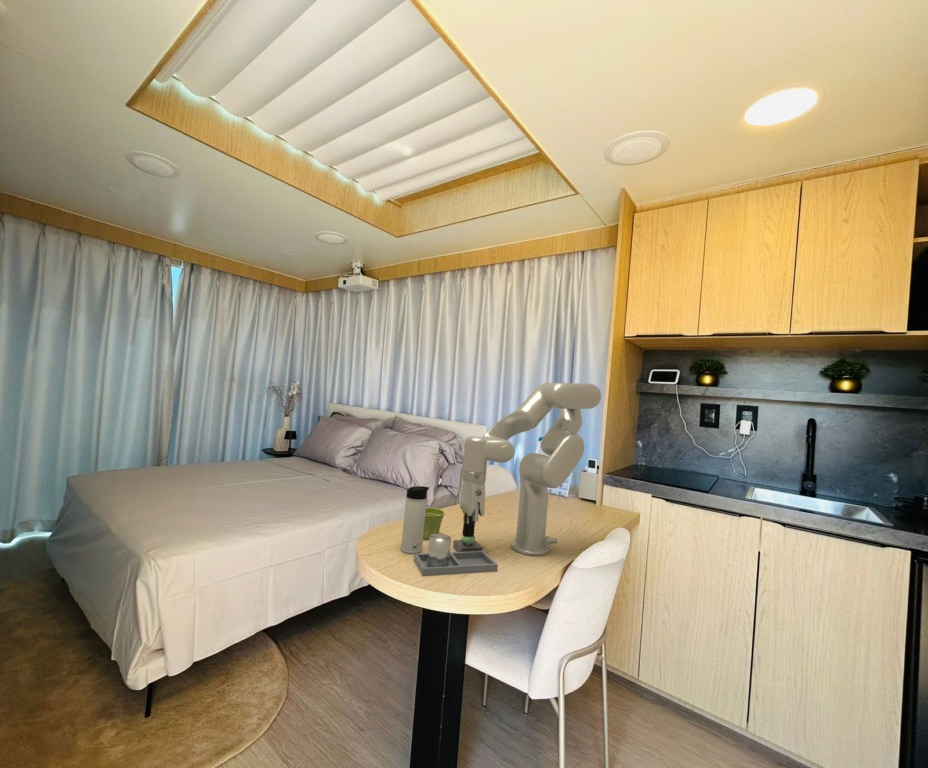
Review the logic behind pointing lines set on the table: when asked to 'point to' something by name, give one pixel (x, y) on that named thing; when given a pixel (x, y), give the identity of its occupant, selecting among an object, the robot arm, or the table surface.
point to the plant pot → (432, 522)
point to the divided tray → (458, 564)
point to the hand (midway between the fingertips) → (468, 535)
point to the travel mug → (414, 520)
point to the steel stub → (438, 550)
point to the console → (466, 546)
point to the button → (468, 540)
